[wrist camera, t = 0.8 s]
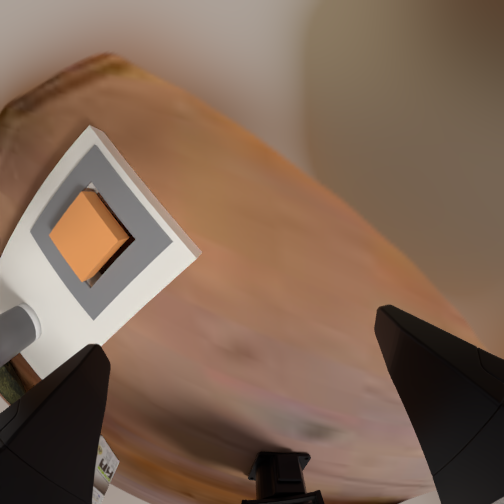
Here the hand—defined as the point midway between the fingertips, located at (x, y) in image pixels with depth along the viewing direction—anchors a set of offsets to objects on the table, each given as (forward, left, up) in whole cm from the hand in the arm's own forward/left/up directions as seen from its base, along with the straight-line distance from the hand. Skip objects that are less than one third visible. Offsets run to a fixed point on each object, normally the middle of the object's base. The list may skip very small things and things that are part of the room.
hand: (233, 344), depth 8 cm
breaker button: (0, +12, -12) cm, 17 cm away
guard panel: (-6, +16, -14) cm, 22 cm away
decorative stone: (-21, +28, -14) cm, 38 cm away
